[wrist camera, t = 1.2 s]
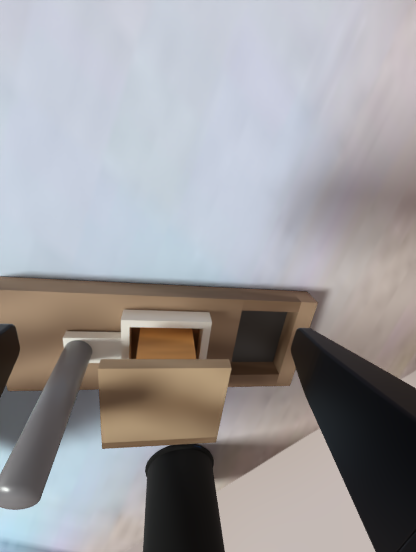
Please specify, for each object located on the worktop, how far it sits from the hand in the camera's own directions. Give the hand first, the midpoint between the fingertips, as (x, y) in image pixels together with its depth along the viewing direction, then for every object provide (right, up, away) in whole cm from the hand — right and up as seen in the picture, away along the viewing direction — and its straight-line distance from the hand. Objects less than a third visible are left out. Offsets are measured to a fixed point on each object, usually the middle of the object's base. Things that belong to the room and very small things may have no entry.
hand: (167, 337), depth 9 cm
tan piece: (-3, -3, +16) cm, 16 cm away
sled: (-4, -4, +13) cm, 15 cm away
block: (-2, -4, +14) cm, 15 cm away
